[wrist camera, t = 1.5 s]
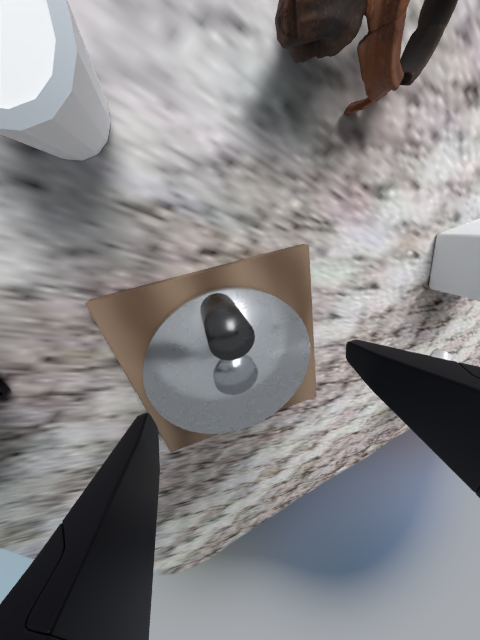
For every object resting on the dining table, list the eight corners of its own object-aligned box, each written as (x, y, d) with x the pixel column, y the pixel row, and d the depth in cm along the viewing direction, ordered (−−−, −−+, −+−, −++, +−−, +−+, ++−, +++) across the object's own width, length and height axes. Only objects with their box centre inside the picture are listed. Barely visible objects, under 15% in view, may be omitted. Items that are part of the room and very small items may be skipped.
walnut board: (171, 443, 27) (170, 452, 26) (90, 299, 18) (85, 303, 17) (311, 390, 30) (316, 396, 29) (302, 244, 21) (308, 245, 20)
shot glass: (137, 163, 15) (108, 119, 9) (33, 179, 14) (-83, 141, 8) (90, 21, 12) (-3, -197, 6) (-47, 27, 11) (-336, -230, 5)
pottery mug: (363, -125, 13) (558, -252, 8) (339, 92, 21) (436, 86, 16) (216, -84, 10) (387, -238, 6) (251, 147, 18) (337, 159, 13)
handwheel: (179, 442, 25) (179, 512, 19) (112, 316, 17) (75, 365, 11) (307, 393, 27) (344, 441, 21) (297, 265, 20) (350, 281, 14)
